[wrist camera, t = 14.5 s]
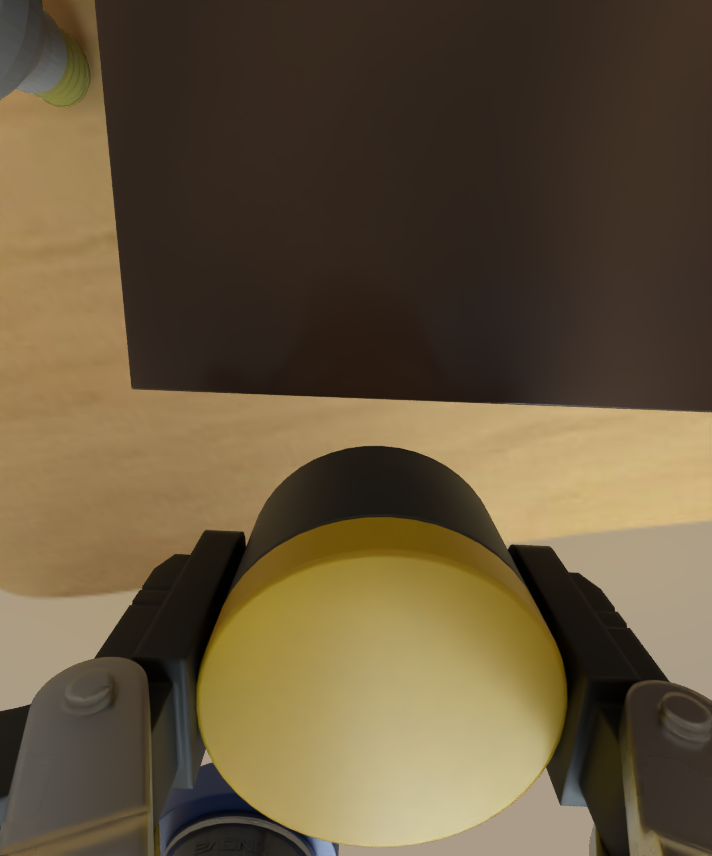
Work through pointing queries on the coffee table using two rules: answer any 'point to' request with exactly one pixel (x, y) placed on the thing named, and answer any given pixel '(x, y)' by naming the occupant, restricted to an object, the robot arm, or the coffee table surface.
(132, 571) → the coffee table surface
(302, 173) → the cabinet
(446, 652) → the cap
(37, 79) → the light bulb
